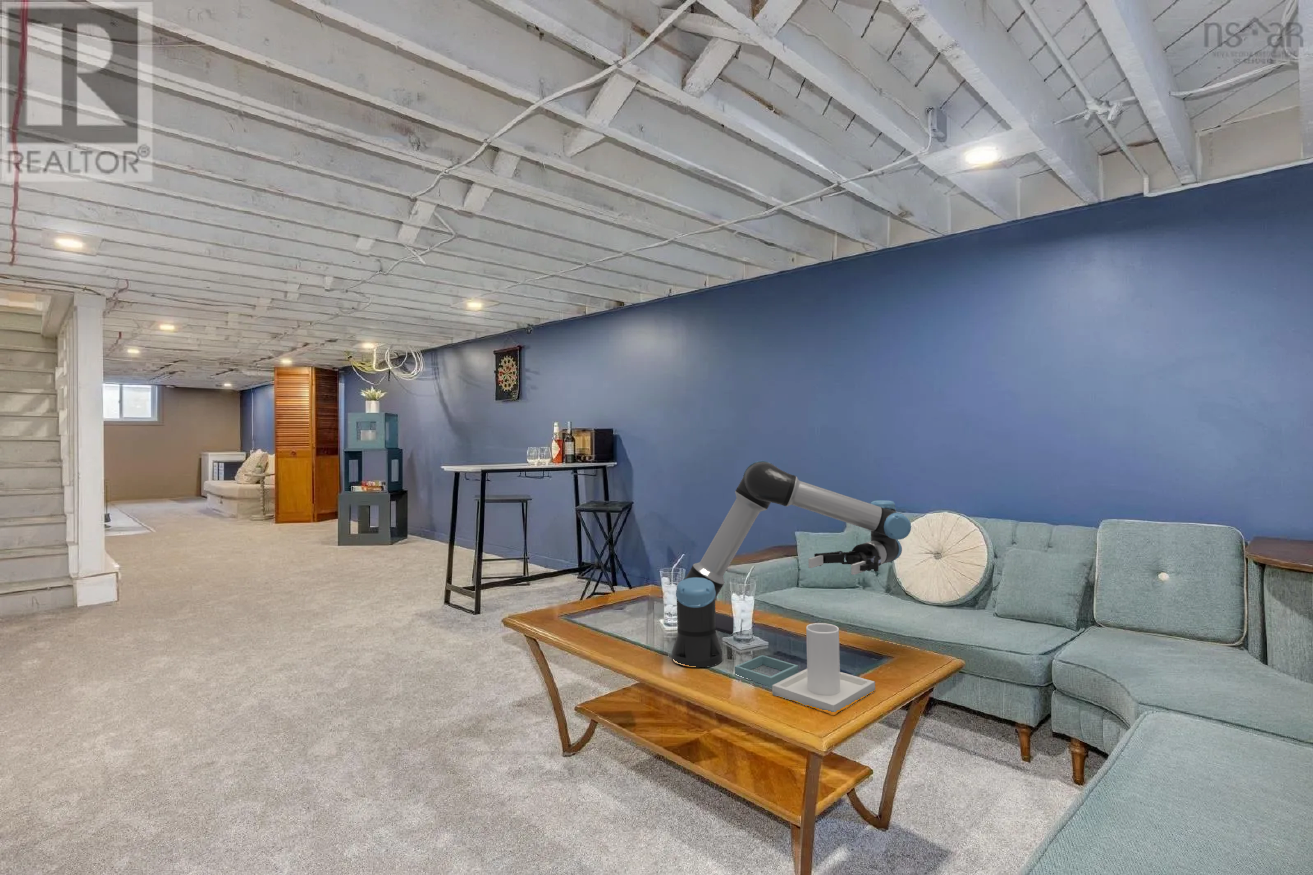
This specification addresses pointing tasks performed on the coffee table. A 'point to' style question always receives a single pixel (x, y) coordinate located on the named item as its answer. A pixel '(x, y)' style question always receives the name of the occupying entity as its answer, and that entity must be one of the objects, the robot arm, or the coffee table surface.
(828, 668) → the cup
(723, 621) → the dark upright panel
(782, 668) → the collar
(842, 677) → the tray
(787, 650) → the coffee table surface
